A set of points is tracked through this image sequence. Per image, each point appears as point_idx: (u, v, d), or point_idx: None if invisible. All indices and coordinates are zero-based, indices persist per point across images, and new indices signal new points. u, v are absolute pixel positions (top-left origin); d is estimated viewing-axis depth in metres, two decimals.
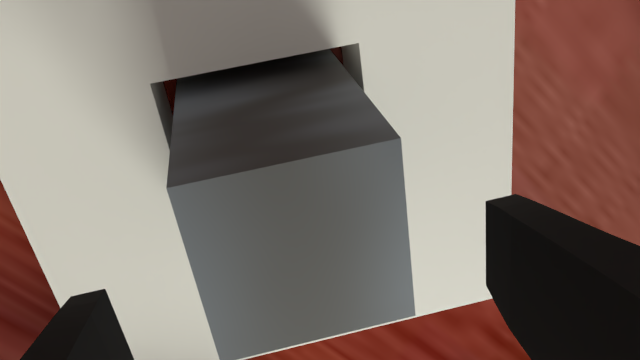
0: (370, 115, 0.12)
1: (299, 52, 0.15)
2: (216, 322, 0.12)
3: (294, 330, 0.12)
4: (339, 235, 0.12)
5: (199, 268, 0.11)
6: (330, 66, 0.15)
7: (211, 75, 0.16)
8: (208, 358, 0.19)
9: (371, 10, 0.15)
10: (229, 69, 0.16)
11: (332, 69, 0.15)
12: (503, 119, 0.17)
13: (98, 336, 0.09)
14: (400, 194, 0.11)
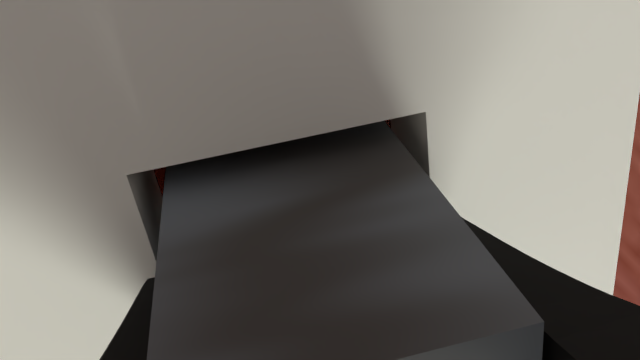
0: (473, 257, 0.07)
1: (341, 126, 0.10)
2: None
3: None
4: None
5: None
6: (384, 144, 0.11)
7: None
8: None
9: (446, 67, 0.10)
10: None
11: (388, 151, 0.10)
12: (612, 205, 0.12)
13: None
14: None
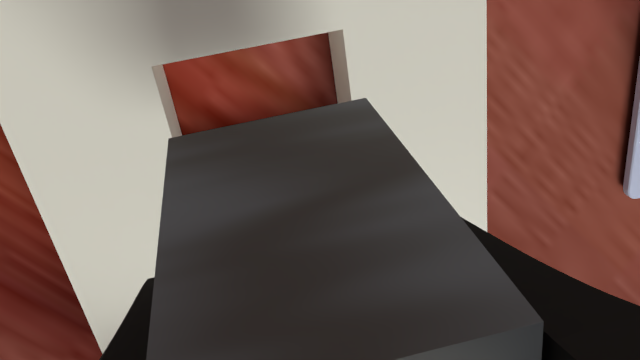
0: (472, 257, 0.07)
1: (288, 38, 0.16)
2: None
3: None
4: None
5: None
6: (384, 144, 0.11)
7: (214, 151, 0.11)
8: None
9: None
10: (239, 142, 0.12)
11: (388, 151, 0.10)
12: (478, 101, 0.18)
13: None
14: None
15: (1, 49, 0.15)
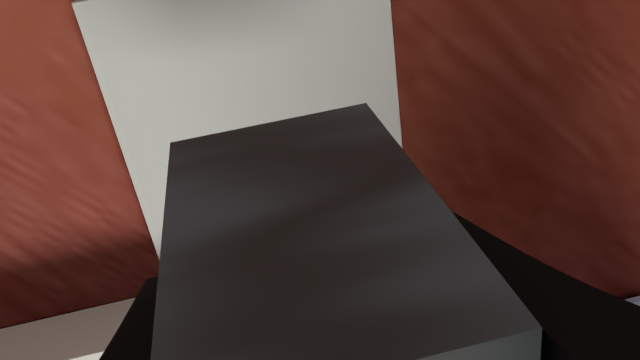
0: (472, 263, 0.08)
1: None
2: None
3: None
4: None
5: None
6: (384, 150, 0.11)
7: (216, 156, 0.12)
8: None
9: None
10: (240, 146, 0.12)
11: (388, 156, 0.10)
12: None
13: None
14: None
15: None
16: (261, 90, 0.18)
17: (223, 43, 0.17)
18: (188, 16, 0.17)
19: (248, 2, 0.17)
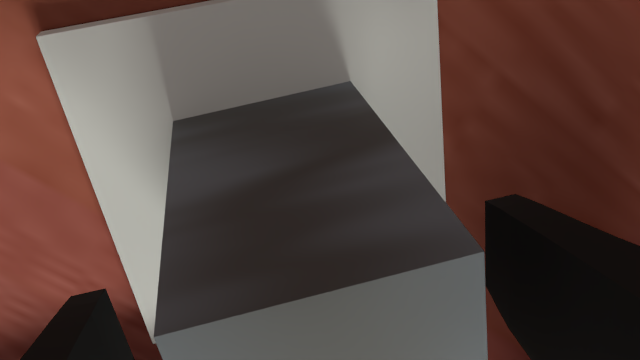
0: (431, 206, 0.09)
1: None
2: None
3: None
4: None
5: None
6: (364, 119, 0.12)
7: (214, 130, 0.13)
8: None
9: None
10: (236, 122, 0.13)
11: (367, 125, 0.12)
12: None
13: (98, 336, 0.09)
14: (478, 321, 0.08)
15: None
16: None
17: (230, 84, 0.14)
18: (186, 51, 0.13)
19: (261, 33, 0.13)
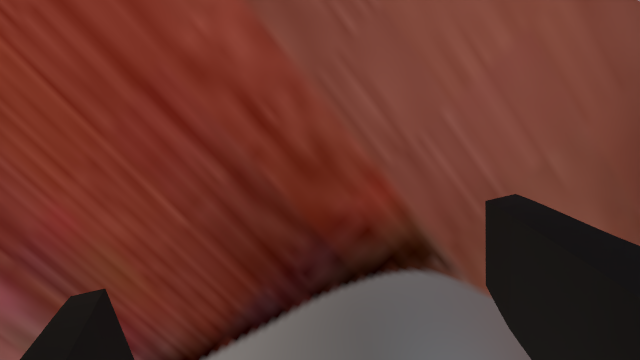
0: None
1: None
2: None
3: None
4: None
5: None
6: None
7: None
8: None
9: None
10: None
11: None
12: None
13: (98, 336, 0.09)
14: None
15: None
16: None
17: None
18: None
19: None
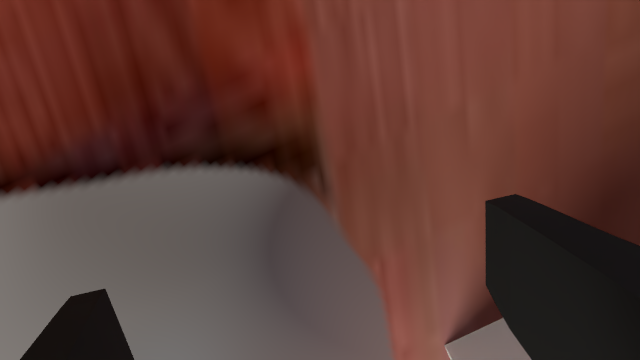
0: None
1: None
2: None
3: None
4: None
5: None
6: None
7: None
8: None
9: None
10: None
11: None
12: None
13: (98, 336, 0.09)
14: None
15: None
16: None
17: None
18: None
19: None
